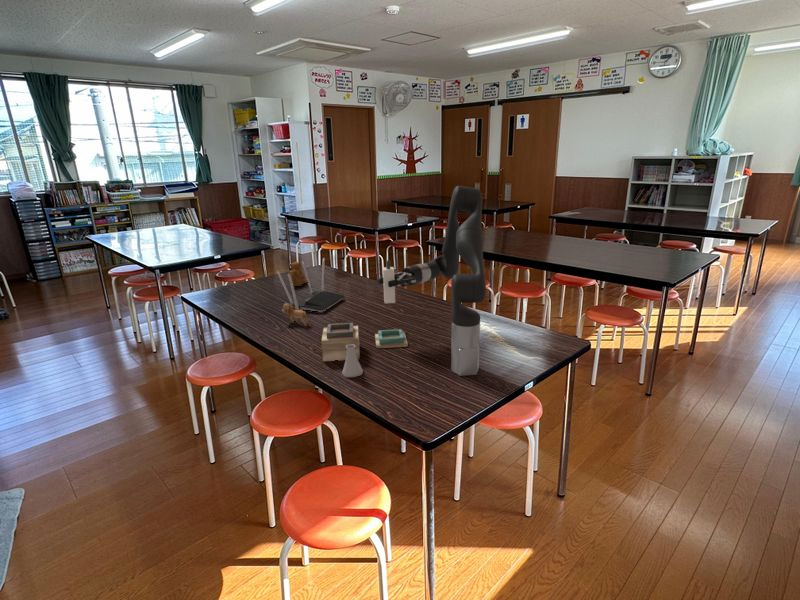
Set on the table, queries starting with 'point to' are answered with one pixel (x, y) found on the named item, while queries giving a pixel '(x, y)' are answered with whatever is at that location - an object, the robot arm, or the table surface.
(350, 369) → the flask
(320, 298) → the wireless router
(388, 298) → the plug
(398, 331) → the lower socket
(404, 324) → the table surface
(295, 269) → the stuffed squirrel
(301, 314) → the lion figurine
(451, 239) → the robot arm
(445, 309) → the table surface
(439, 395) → the table surface
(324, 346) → the upper dock
